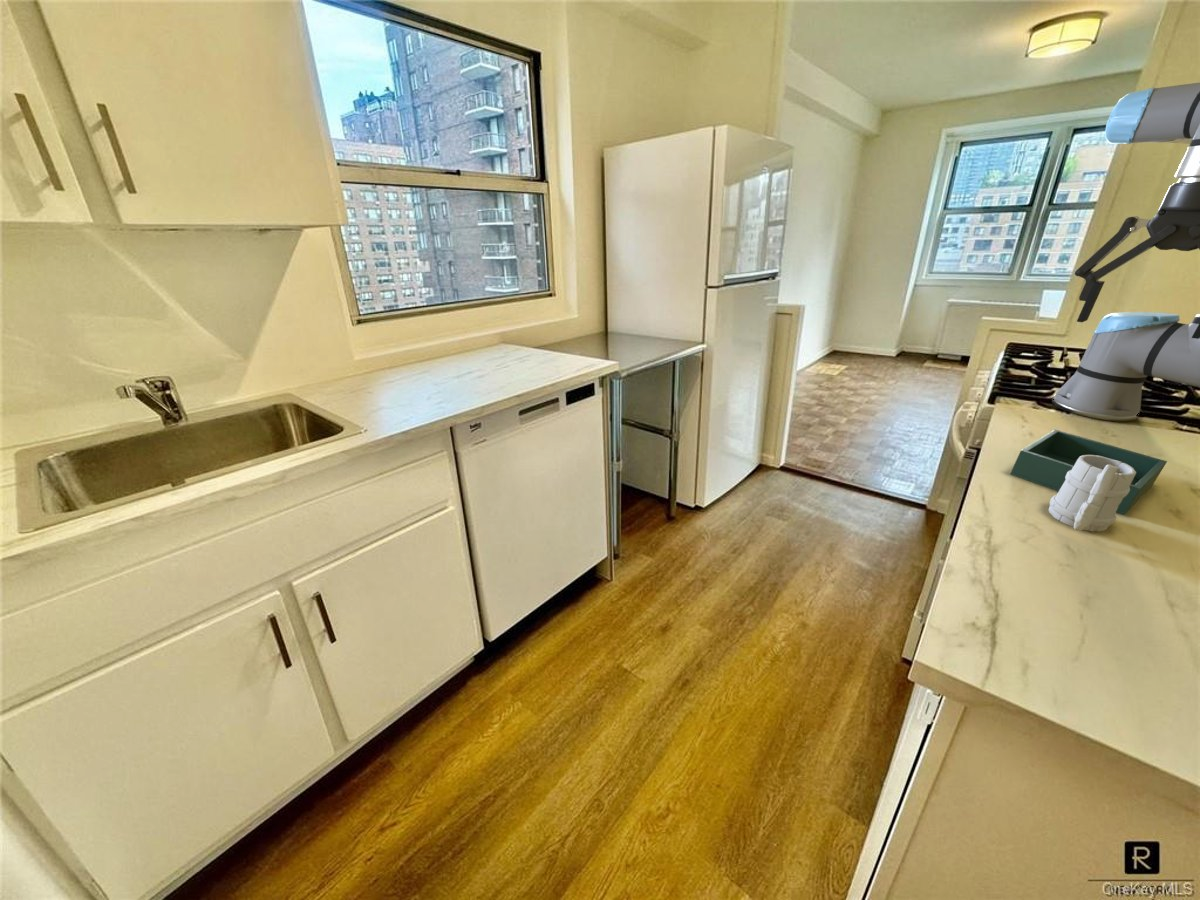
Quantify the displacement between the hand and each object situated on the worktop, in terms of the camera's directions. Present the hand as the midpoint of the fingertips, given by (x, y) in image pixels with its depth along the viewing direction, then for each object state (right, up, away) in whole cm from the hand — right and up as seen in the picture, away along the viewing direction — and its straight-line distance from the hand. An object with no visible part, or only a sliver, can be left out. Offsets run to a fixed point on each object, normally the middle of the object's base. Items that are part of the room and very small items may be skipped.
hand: (1135, 328), depth 79 cm
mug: (-13, -32, -4) cm, 35 cm away
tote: (-1, -25, +8) cm, 27 cm away
